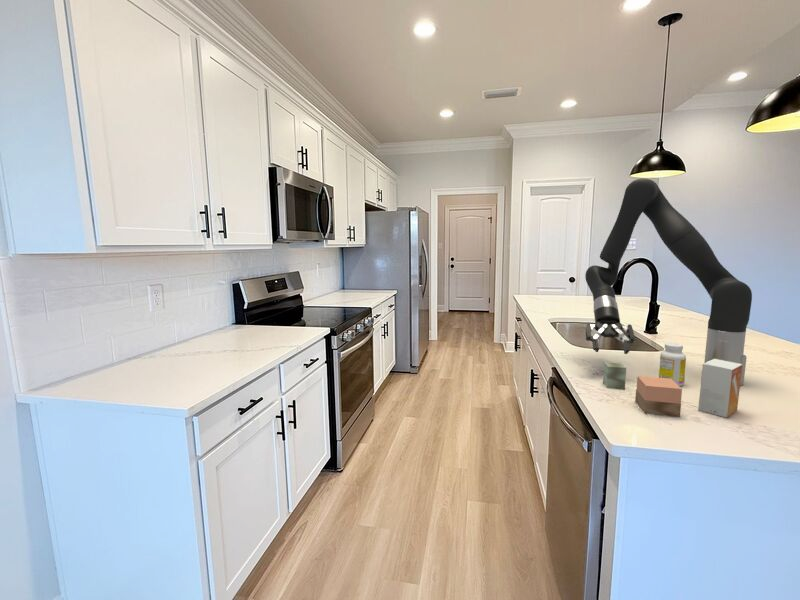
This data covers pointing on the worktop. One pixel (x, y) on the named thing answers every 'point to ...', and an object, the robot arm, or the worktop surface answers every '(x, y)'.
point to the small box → (720, 387)
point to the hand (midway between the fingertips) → (611, 351)
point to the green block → (614, 375)
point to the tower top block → (659, 389)
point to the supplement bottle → (673, 363)
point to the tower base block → (657, 407)
